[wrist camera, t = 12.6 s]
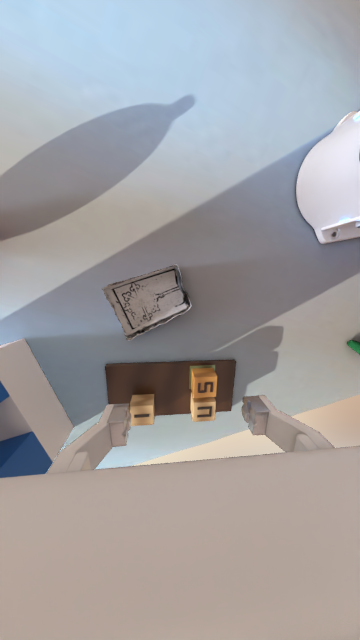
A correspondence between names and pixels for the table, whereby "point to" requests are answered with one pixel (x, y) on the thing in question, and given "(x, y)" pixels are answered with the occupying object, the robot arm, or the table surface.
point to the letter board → (168, 389)
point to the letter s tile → (203, 382)
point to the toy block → (28, 414)
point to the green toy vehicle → (354, 346)
